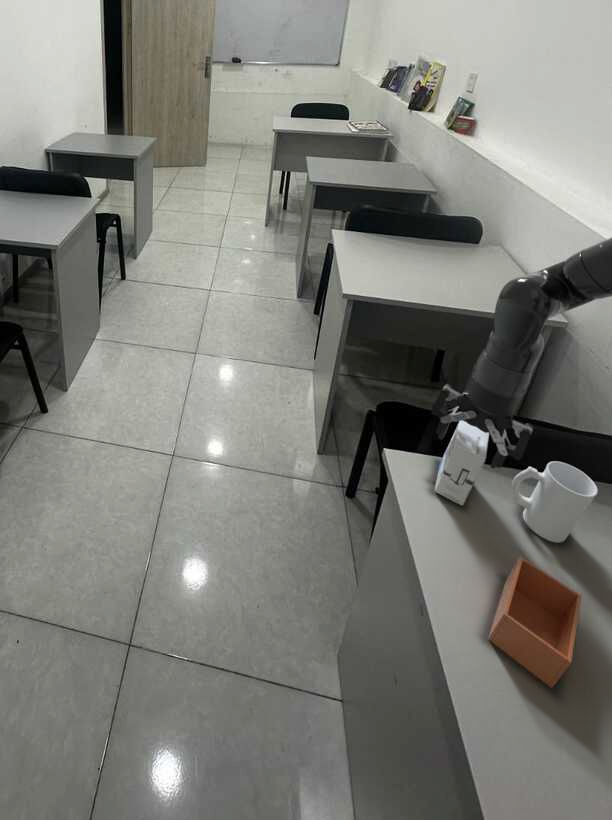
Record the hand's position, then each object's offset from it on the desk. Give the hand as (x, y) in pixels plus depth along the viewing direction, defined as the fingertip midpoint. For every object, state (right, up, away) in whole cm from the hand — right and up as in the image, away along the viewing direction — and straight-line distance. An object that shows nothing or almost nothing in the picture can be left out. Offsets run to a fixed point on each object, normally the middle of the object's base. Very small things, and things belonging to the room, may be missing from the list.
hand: (466, 450), depth 87 cm
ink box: (-1, -8, +3) cm, 9 cm away
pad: (-1, -8, +4) cm, 9 cm away
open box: (-3, -18, -18) cm, 26 cm away
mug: (+10, -12, -2) cm, 16 cm away
